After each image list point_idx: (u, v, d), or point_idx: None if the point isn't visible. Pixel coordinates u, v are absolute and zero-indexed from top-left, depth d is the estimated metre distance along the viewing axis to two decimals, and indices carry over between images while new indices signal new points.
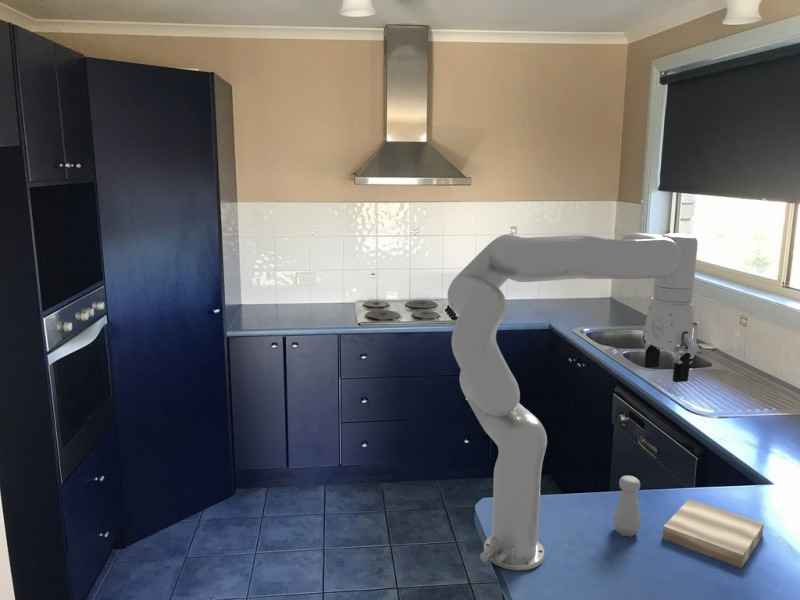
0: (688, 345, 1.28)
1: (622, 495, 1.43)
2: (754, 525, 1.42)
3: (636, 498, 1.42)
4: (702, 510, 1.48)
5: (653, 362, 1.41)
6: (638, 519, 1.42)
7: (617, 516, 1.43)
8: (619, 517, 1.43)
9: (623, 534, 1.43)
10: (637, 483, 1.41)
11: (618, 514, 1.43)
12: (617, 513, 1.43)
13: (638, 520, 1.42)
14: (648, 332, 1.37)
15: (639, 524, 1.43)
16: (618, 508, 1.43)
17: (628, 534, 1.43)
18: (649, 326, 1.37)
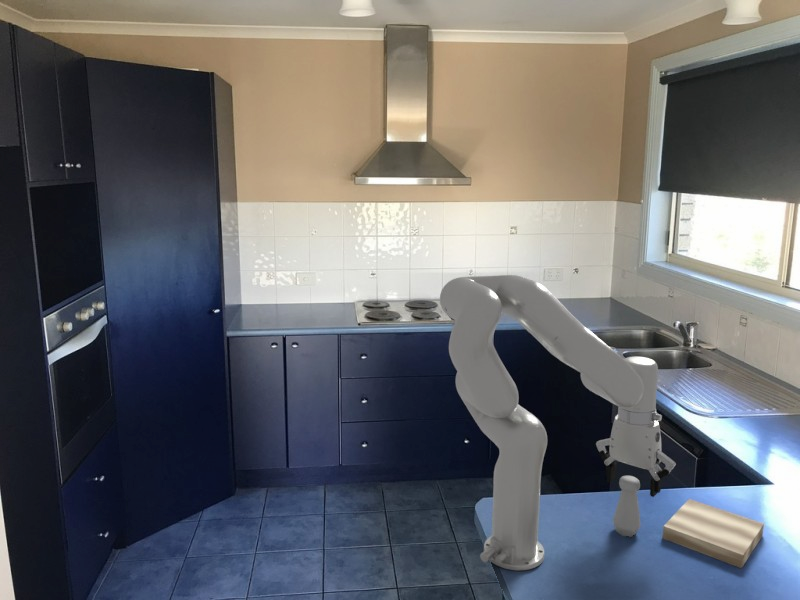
0: None
1: (622, 495, 1.43)
2: (754, 525, 1.42)
3: (636, 498, 1.42)
4: (702, 510, 1.48)
5: None
6: (638, 519, 1.42)
7: (617, 516, 1.43)
8: (619, 517, 1.43)
9: (623, 534, 1.43)
10: (637, 483, 1.41)
11: (618, 514, 1.43)
12: (617, 513, 1.43)
13: (638, 520, 1.42)
14: None
15: (639, 524, 1.43)
16: (618, 508, 1.43)
17: (628, 534, 1.43)
18: None
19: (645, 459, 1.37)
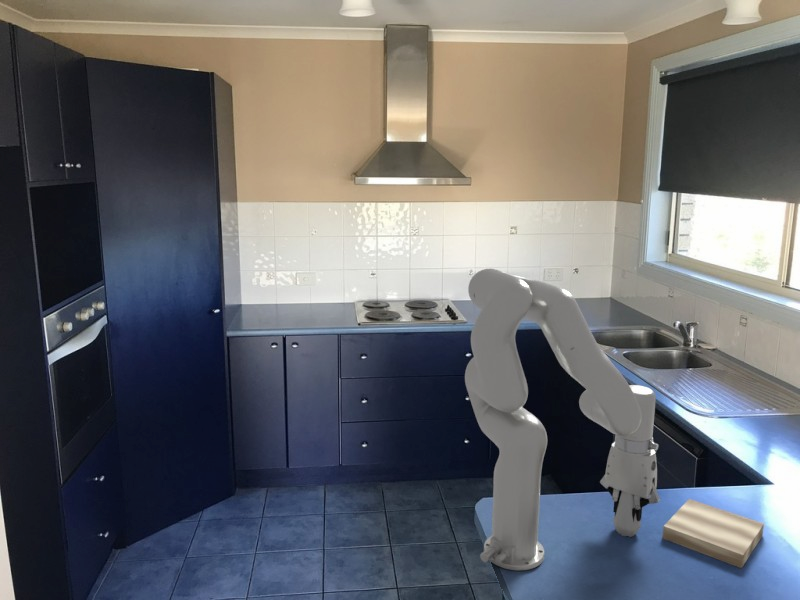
0: None
1: (622, 495, 1.42)
2: (754, 525, 1.42)
3: None
4: (702, 510, 1.48)
5: None
6: None
7: (618, 516, 1.43)
8: (619, 517, 1.43)
9: (623, 534, 1.43)
10: None
11: (618, 514, 1.43)
12: (617, 513, 1.43)
13: None
14: None
15: (639, 524, 1.43)
16: (618, 508, 1.43)
17: (628, 534, 1.43)
18: None
19: (641, 487, 1.38)
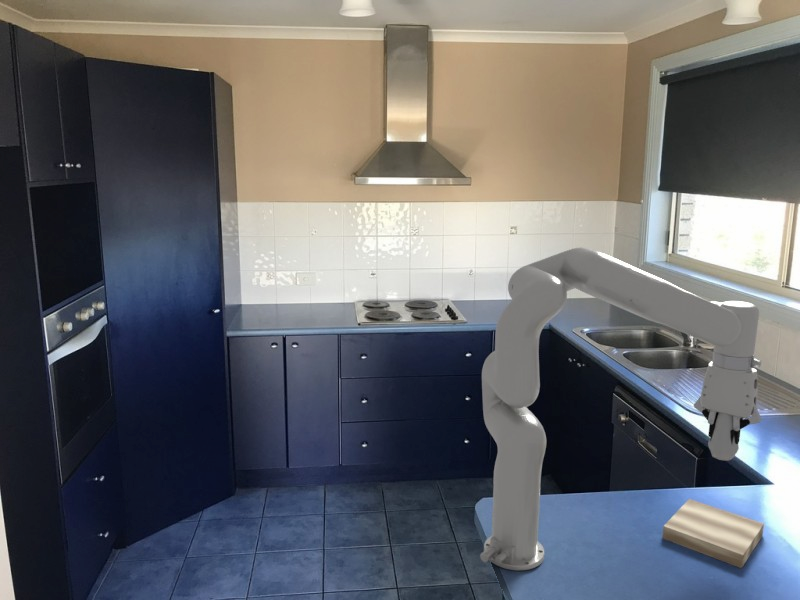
0: None
1: (720, 417, 1.37)
2: (754, 525, 1.42)
3: None
4: (702, 510, 1.48)
5: None
6: None
7: (715, 439, 1.37)
8: (717, 440, 1.37)
9: (720, 458, 1.37)
10: None
11: (715, 437, 1.37)
12: (714, 436, 1.38)
13: None
14: None
15: (737, 447, 1.37)
16: (715, 431, 1.37)
17: (726, 457, 1.37)
18: None
19: (742, 406, 1.33)
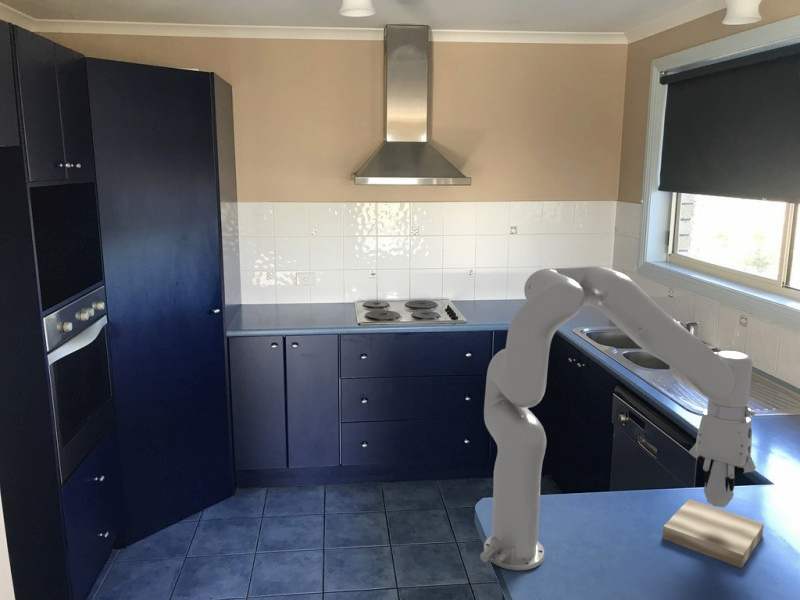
0: None
1: (715, 464, 1.39)
2: (754, 525, 1.42)
3: None
4: (702, 510, 1.48)
5: None
6: None
7: (710, 486, 1.40)
8: (712, 487, 1.39)
9: (716, 504, 1.39)
10: None
11: (710, 484, 1.40)
12: (709, 483, 1.40)
13: None
14: None
15: (732, 494, 1.39)
16: (710, 478, 1.40)
17: (721, 504, 1.39)
18: None
19: (736, 455, 1.35)
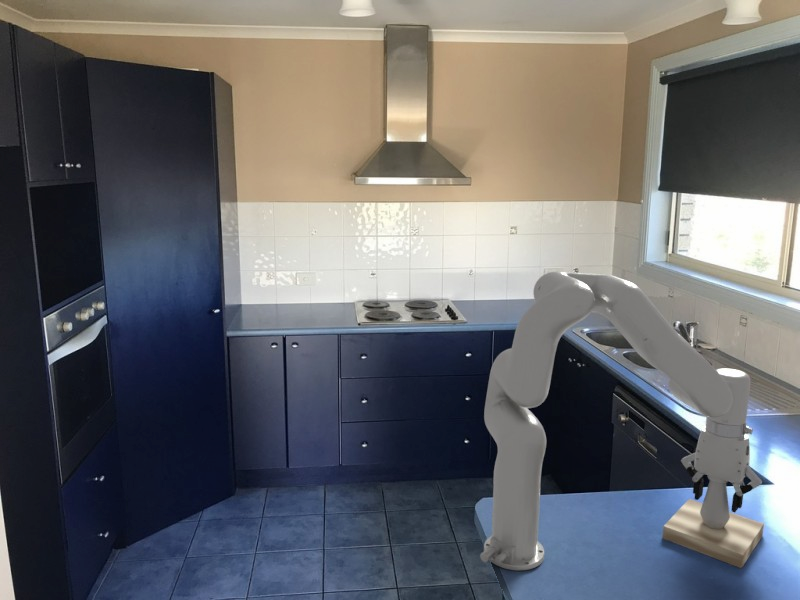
0: None
1: (711, 487, 1.40)
2: (754, 525, 1.42)
3: (725, 489, 1.40)
4: None
5: None
6: (728, 511, 1.40)
7: (706, 508, 1.41)
8: (708, 509, 1.40)
9: (712, 527, 1.40)
10: None
11: (706, 506, 1.41)
12: (705, 505, 1.41)
13: (728, 512, 1.40)
14: None
15: (728, 516, 1.40)
16: (706, 500, 1.41)
17: (717, 526, 1.40)
18: None
19: (734, 472, 1.36)
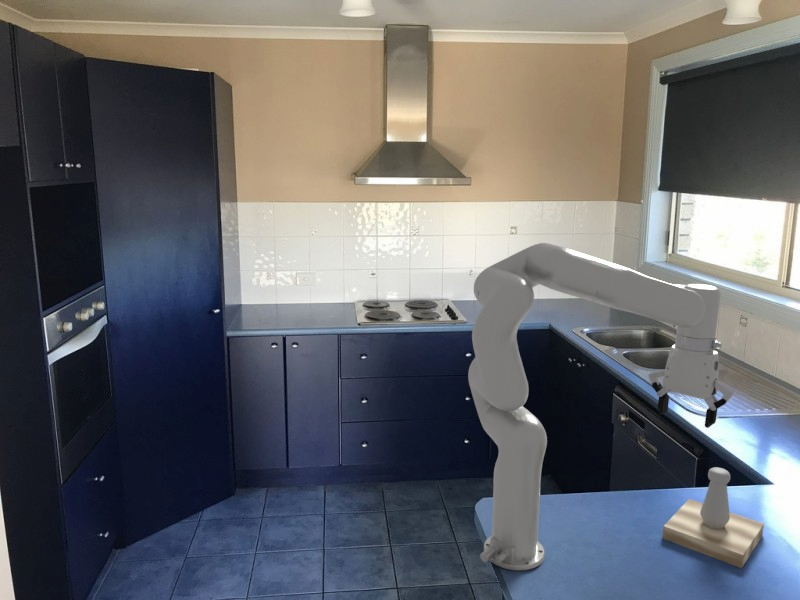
0: None
1: (711, 487, 1.40)
2: (754, 525, 1.42)
3: (726, 490, 1.40)
4: None
5: None
6: (728, 511, 1.40)
7: (706, 509, 1.41)
8: (708, 510, 1.40)
9: (712, 527, 1.40)
10: (728, 475, 1.38)
11: (707, 506, 1.41)
12: (706, 506, 1.41)
13: (728, 512, 1.40)
14: None
15: (729, 517, 1.40)
16: (707, 500, 1.41)
17: (718, 527, 1.40)
18: None
19: (702, 388, 1.34)
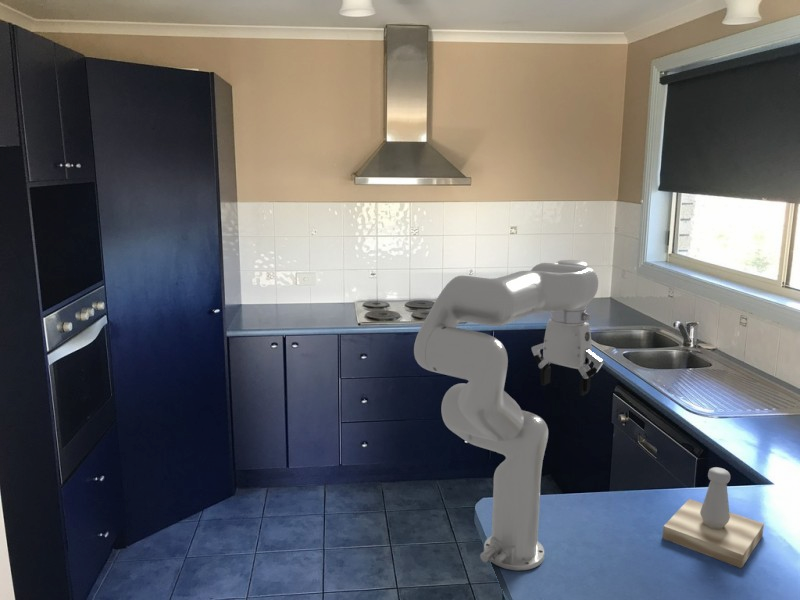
0: None
1: (711, 487, 1.40)
2: (754, 525, 1.42)
3: (726, 490, 1.40)
4: None
5: None
6: (728, 511, 1.40)
7: (706, 509, 1.41)
8: (708, 510, 1.40)
9: (712, 527, 1.40)
10: (728, 475, 1.38)
11: (707, 506, 1.41)
12: (706, 505, 1.41)
13: (728, 512, 1.40)
14: None
15: (729, 517, 1.40)
16: (707, 500, 1.41)
17: (718, 527, 1.40)
18: None
19: (575, 358, 1.42)
